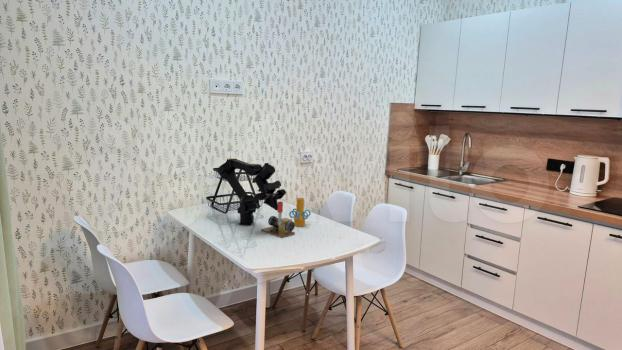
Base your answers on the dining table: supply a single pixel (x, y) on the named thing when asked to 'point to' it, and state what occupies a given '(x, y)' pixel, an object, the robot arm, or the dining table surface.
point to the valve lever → (280, 212)
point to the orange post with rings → (299, 213)
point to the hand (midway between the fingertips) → (277, 209)
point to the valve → (280, 227)
